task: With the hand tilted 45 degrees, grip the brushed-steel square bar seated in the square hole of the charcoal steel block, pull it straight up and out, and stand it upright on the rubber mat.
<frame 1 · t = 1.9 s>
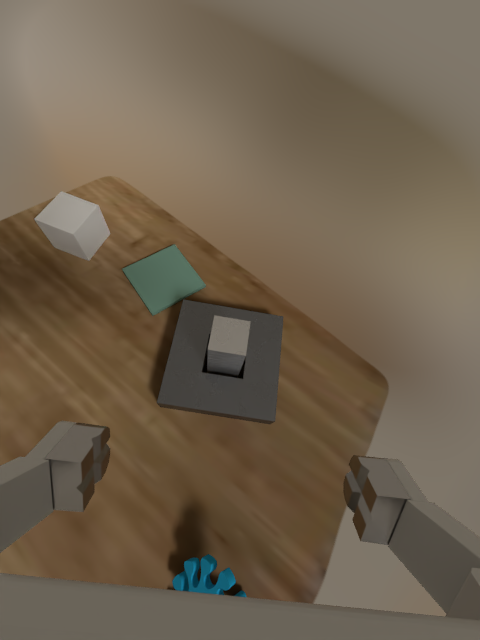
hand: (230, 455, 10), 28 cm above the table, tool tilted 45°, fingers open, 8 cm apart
steel bar: (226, 350, 35), in the socket block
rubber mat: (164, 279, 45), on the table
plain white cube: (83, 241, 46), on the table
gear: (209, 611, 29), on the table
socket block: (224, 362, 40), on the table
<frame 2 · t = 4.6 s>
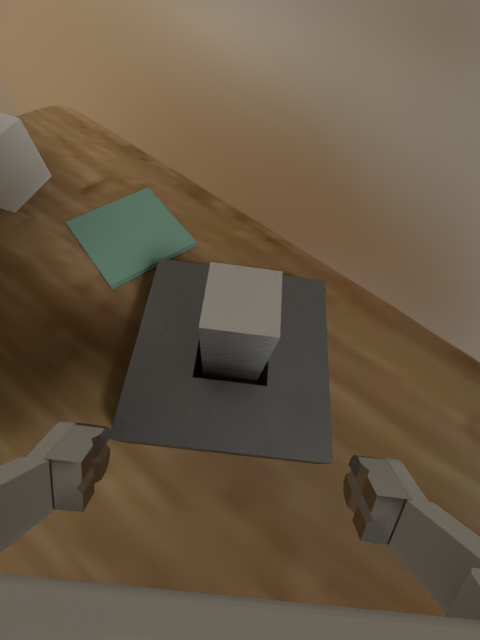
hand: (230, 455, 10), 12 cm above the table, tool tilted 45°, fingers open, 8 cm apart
steel bar: (235, 336, 20), in the socket block
rubber mat: (132, 236, 29), on the table
plain white cube: (10, 187, 31), on the table
socket block: (231, 360, 24), on the table
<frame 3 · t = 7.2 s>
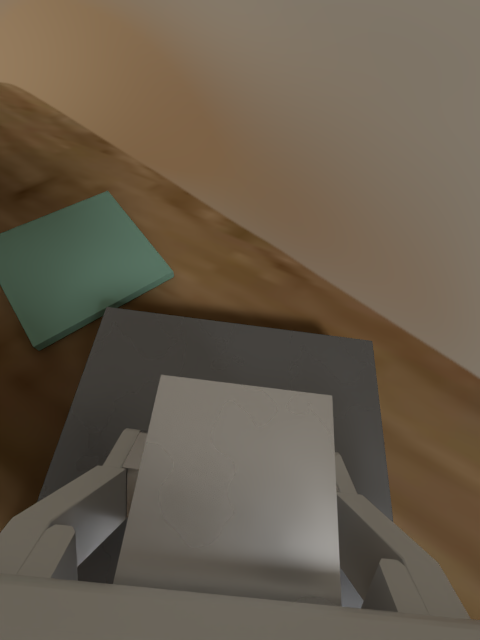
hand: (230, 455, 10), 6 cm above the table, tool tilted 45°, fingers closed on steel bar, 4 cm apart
steel bar: (226, 476, 10), in the socket block, touching gripper
rubber mat: (79, 262, 20), on the table
socket block: (222, 473, 15), on the table
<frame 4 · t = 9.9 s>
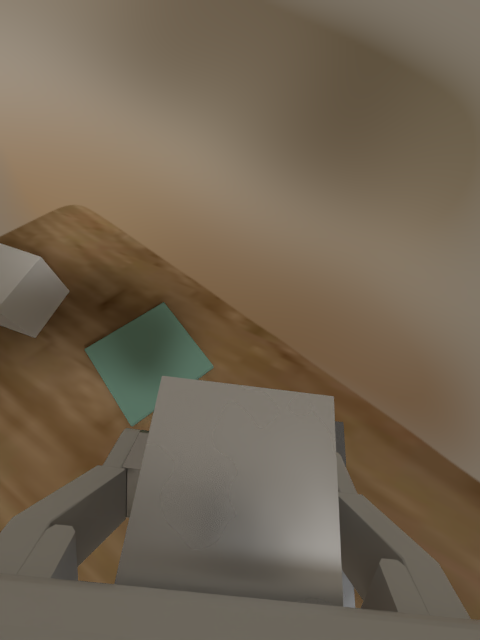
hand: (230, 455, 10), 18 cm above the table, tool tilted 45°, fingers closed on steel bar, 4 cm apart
steel bar: (227, 477, 10), point 17 cm above the table, touching gripper
rubber mat: (150, 359, 29), on the table
plain white cube: (29, 306, 31), on the table
socket block: (251, 506, 24), on the table
when the fingers open (8 cm above the table, at t = 13.0 s): steel bar drops 1 cm, resting on rubber mat.
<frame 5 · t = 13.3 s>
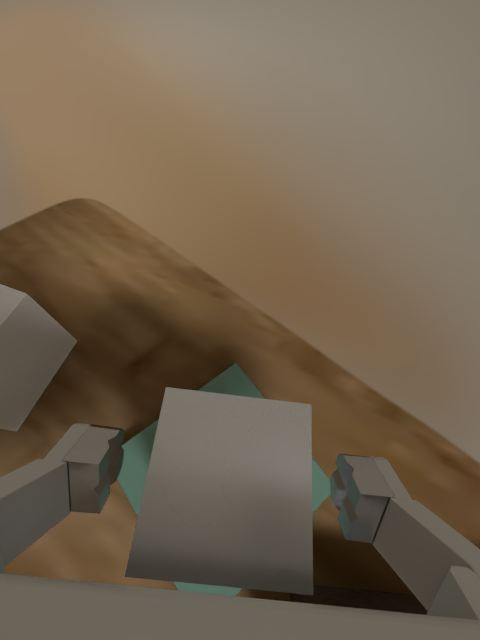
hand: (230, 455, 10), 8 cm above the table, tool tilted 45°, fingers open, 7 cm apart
steel bar: (223, 474, 12), on the rubber mat, point 6 cm above the table
rubber mat: (221, 472, 16), on the table
plain white cube: (9, 367, 18), on the table
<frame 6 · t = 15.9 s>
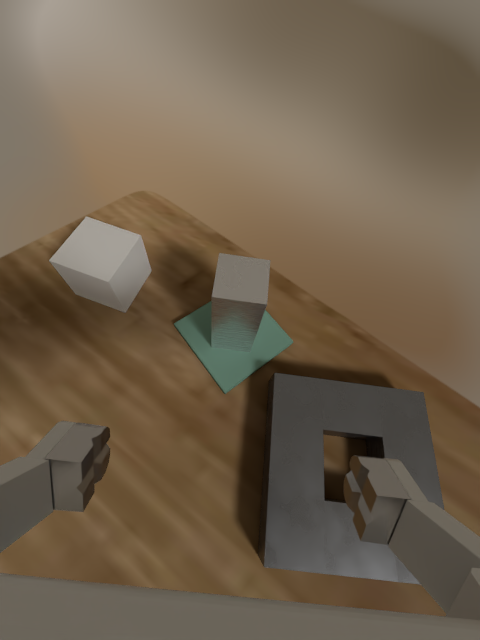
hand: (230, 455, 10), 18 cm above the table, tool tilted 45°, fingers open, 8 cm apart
steel bar: (236, 309, 26), on the rubber mat, point 6 cm above the table
rubber mat: (233, 334, 31), on the table
plain white cube: (115, 283, 33), on the table
socket block: (340, 467, 26), on the table
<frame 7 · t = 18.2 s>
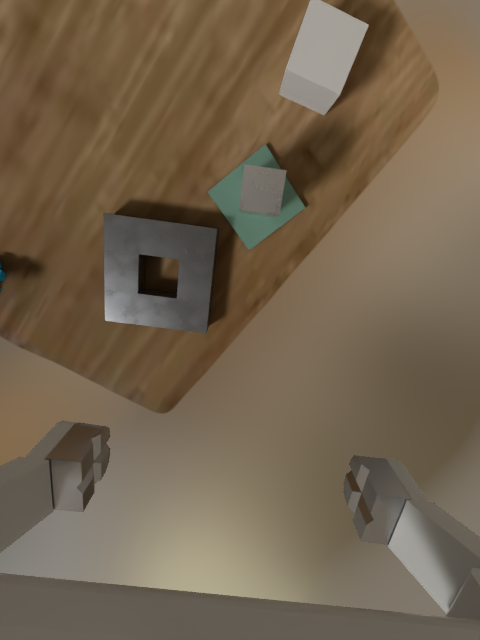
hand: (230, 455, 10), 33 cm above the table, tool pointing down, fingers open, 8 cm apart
steel bar: (259, 195, 33), on the rubber mat, point 6 cm above the table
rubber mat: (256, 200, 38), on the table
plain white cube: (312, 77, 34), on the table
socket block: (164, 273, 41), on the table
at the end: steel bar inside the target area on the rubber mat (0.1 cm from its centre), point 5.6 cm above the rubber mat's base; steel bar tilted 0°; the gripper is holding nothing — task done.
